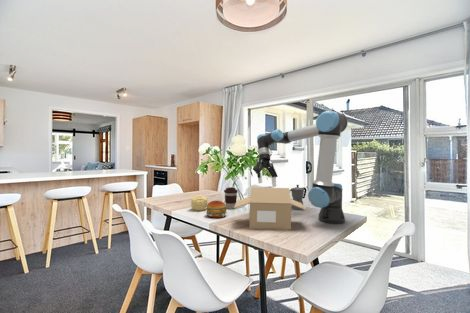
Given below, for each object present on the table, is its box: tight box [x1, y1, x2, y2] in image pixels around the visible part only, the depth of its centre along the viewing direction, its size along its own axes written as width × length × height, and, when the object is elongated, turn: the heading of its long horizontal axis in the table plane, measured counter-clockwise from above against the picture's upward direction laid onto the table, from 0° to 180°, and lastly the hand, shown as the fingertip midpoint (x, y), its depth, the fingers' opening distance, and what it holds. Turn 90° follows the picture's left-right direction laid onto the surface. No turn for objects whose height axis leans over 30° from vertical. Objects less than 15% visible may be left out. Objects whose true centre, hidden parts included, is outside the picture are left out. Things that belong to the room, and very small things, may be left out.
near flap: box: [250, 186, 291, 204], centre depth 129 cm, size 21×9×1 cm
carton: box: [233, 196, 308, 231], centre depth 140 cm, size 39×27×14 cm
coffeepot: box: [289, 184, 308, 211], centre depth 175 cm, size 15×9×18 cm, turn 118°
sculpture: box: [190, 194, 208, 212], centre depth 170 cm, size 12×12×11 cm
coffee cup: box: [223, 186, 238, 210], centre depth 176 cm, size 10×10×15 cm
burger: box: [205, 200, 228, 219], centre depth 154 cm, size 13×14×10 cm
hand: (267, 184), depth 153 cm, fingers open, 13 cm apart
